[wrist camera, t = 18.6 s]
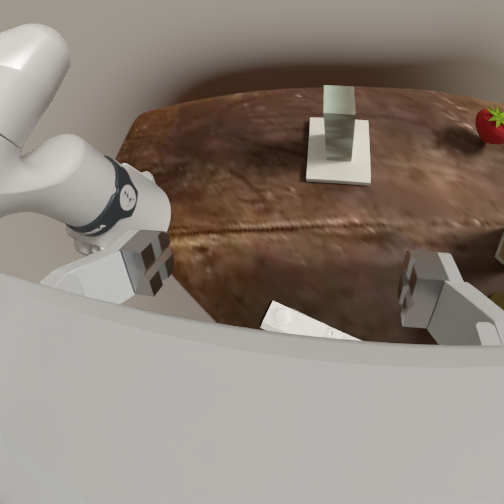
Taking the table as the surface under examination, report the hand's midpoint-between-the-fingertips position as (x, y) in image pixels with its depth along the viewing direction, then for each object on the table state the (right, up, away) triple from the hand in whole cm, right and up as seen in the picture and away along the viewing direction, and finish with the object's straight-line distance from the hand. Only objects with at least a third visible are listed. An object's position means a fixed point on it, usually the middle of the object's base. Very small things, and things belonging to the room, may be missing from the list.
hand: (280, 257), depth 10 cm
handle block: (+13, +17, +36) cm, 42 cm away
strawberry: (+41, +20, +31) cm, 55 cm away
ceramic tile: (+13, +17, +37) cm, 43 cm away
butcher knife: (+8, -12, +32) cm, 35 cm away
